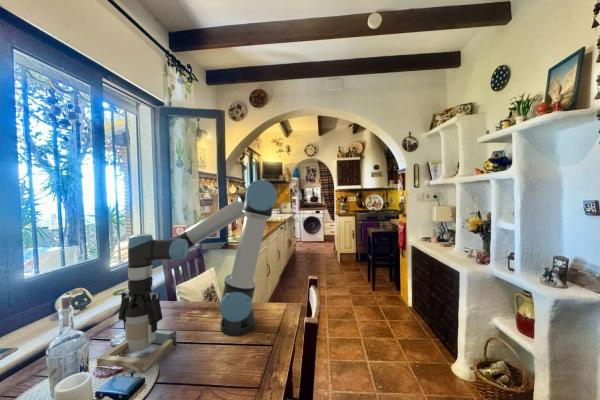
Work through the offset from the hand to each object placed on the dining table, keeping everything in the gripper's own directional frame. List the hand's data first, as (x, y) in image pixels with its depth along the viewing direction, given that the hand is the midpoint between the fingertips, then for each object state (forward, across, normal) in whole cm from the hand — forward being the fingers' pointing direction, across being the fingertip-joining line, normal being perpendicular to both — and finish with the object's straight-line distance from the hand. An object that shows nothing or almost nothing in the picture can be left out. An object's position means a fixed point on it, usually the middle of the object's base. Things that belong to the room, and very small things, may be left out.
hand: (140, 339), depth 91 cm
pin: (+5, -8, -8) cm, 12 cm away
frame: (+5, 0, 0) cm, 5 cm away
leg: (+5, 0, -8) cm, 10 cm away
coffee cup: (+3, 0, 0) cm, 3 cm away
